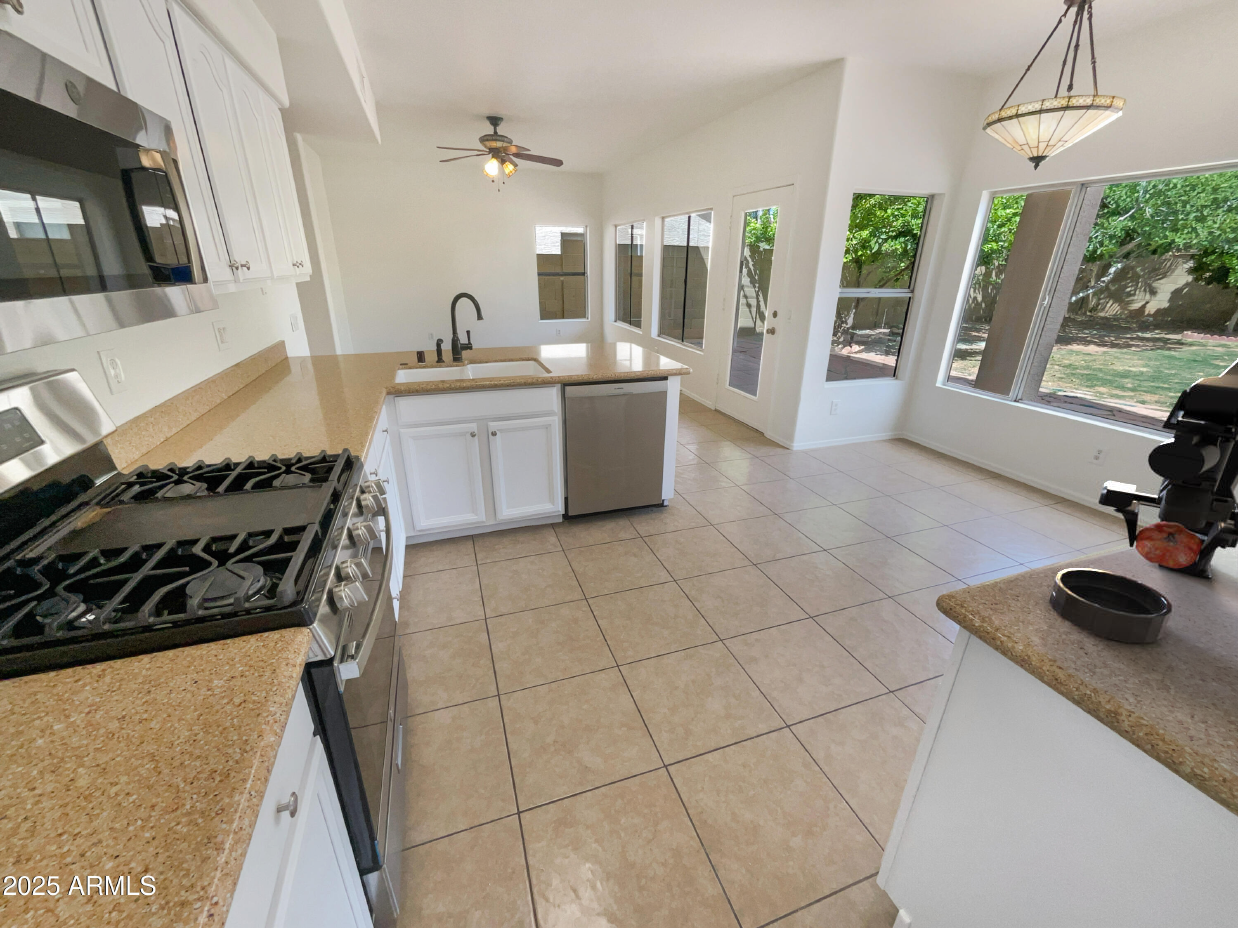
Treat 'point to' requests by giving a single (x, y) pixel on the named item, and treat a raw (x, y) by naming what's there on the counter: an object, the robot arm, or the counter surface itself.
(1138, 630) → the dark shallow dish
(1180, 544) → the tomato
